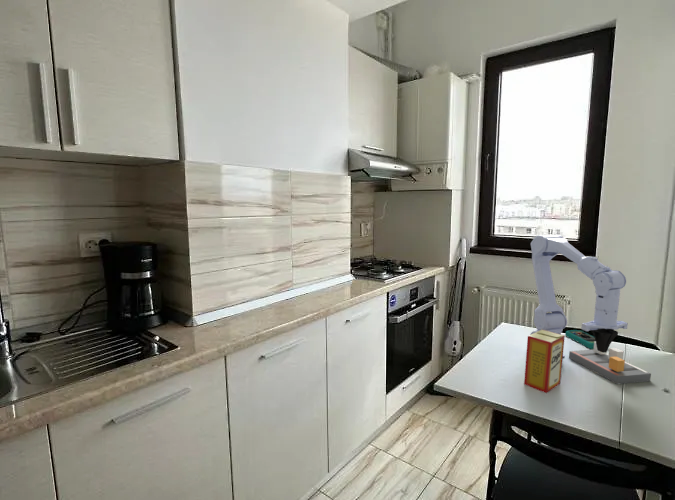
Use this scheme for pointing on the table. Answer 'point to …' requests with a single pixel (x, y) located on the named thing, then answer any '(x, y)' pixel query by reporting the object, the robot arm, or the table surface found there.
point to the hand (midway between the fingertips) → (601, 351)
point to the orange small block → (616, 364)
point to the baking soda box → (544, 360)
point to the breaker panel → (601, 365)
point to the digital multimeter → (581, 338)
